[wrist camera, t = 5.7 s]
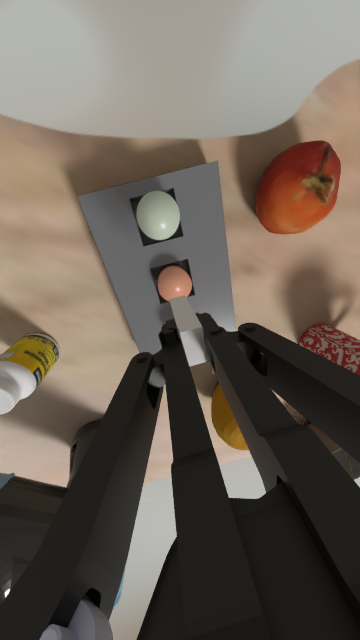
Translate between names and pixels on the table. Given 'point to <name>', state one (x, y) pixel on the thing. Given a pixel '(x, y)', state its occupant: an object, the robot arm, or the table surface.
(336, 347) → the mug
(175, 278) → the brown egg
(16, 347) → the pill bottle
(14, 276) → the table surface
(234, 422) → the apple
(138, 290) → the panel
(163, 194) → the button sage
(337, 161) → the tomato
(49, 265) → the table surface
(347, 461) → the bowl
